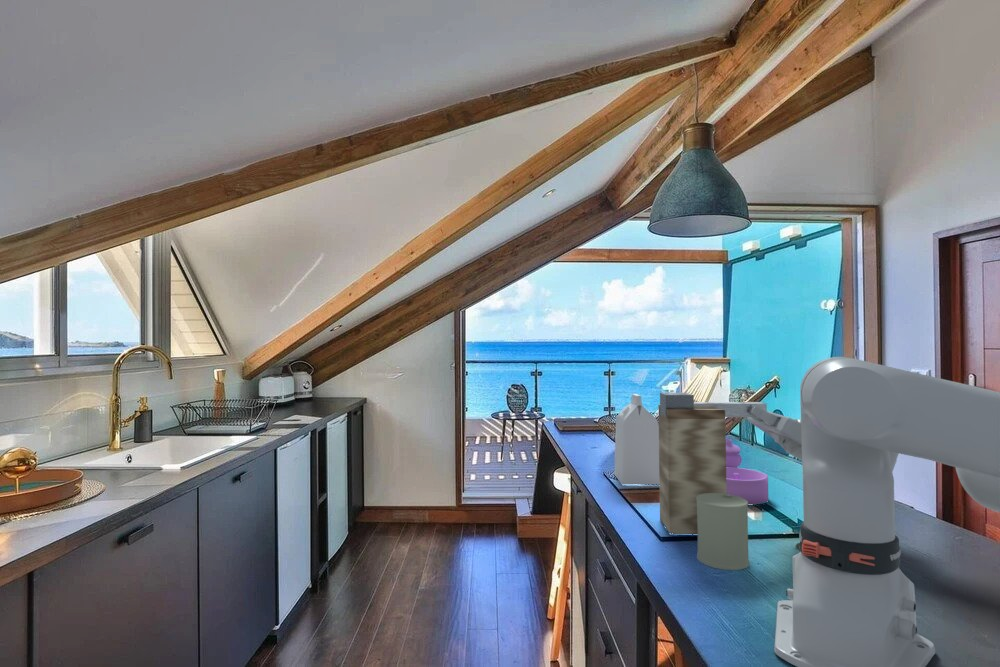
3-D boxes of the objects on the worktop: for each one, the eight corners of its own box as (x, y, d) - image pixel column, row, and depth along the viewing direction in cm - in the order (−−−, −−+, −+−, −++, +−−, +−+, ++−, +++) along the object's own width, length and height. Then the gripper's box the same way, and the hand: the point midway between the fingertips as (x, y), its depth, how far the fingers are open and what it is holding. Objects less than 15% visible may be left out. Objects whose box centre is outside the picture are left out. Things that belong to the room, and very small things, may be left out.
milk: (662, 486, 154) (661, 396, 155) (622, 486, 155) (621, 396, 155) (651, 476, 166) (650, 393, 167) (614, 476, 167) (613, 393, 167)
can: (756, 559, 101) (755, 496, 101) (739, 575, 94) (738, 507, 95) (708, 547, 107) (707, 487, 108) (688, 561, 101) (688, 497, 101)
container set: (774, 508, 133) (773, 455, 134) (710, 503, 137) (709, 452, 138) (754, 483, 157) (753, 438, 158) (699, 480, 161) (699, 436, 162)
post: (712, 521, 123) (710, 404, 124) (727, 536, 113) (725, 409, 114) (660, 520, 124) (658, 404, 125) (669, 535, 114) (667, 409, 115)
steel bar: (758, 414, 121) (758, 392, 121) (769, 418, 115) (769, 395, 115) (660, 414, 123) (659, 392, 123) (665, 417, 117) (665, 394, 117)
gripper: (820, 461, 107) (758, 427, 108) (776, 443, 127) (724, 414, 128) (836, 434, 107) (773, 400, 108) (790, 420, 127) (737, 391, 128)
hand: (746, 407), depth 118 cm, fingers open, 4 cm apart
